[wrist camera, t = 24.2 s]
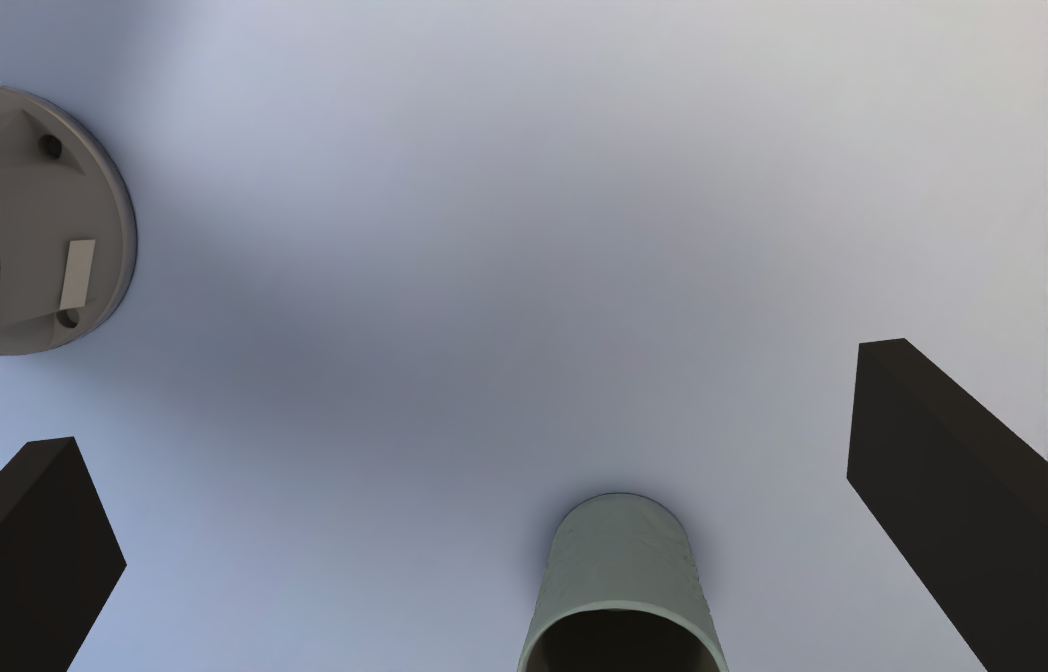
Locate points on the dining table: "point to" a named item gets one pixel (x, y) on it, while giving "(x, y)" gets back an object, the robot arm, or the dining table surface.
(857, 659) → the dining table surface
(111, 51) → the dining table surface
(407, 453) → the dining table surface
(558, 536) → the green embossed cup
